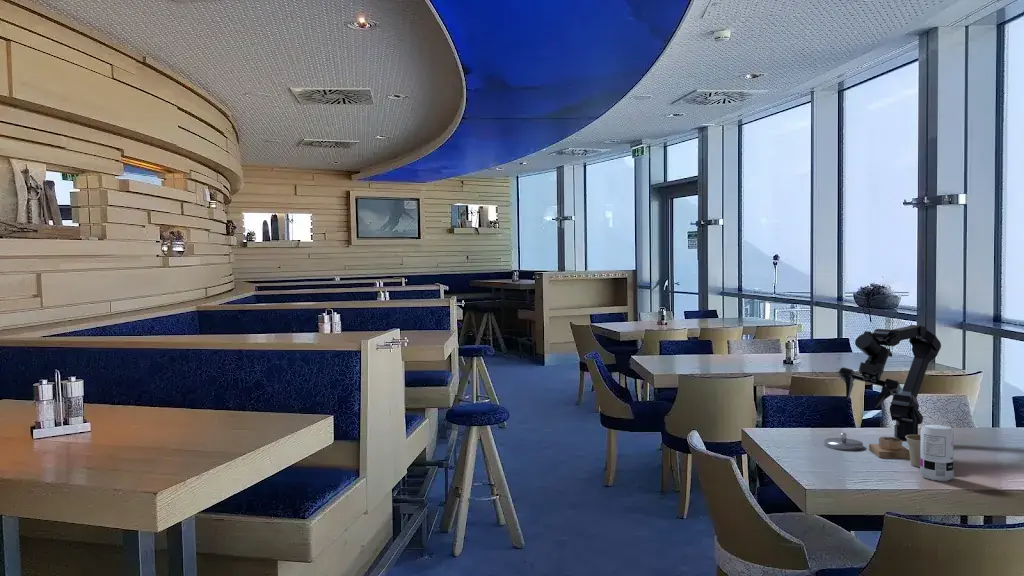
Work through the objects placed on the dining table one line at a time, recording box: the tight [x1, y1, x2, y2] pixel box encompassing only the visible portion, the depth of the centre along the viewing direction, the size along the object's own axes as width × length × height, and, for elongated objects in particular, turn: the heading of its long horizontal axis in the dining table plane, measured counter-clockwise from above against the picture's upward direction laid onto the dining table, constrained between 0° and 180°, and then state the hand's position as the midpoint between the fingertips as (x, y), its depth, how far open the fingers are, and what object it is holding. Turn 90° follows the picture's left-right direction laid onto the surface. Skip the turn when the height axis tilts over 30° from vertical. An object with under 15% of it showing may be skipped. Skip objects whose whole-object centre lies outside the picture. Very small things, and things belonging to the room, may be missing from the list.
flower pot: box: [905, 434, 921, 468], centre depth 218 cm, size 9×9×9 cm
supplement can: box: [919, 423, 955, 482], centre depth 205 cm, size 8×8×15 cm
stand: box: [868, 439, 910, 460], centre depth 232 cm, size 10×10×5 cm
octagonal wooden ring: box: [878, 436, 903, 451], centre depth 232 cm, size 6×6×3 cm
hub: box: [823, 432, 864, 452], centre depth 243 cm, size 12×12×4 cm
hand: (861, 403), depth 239 cm, fingers open, 9 cm apart
